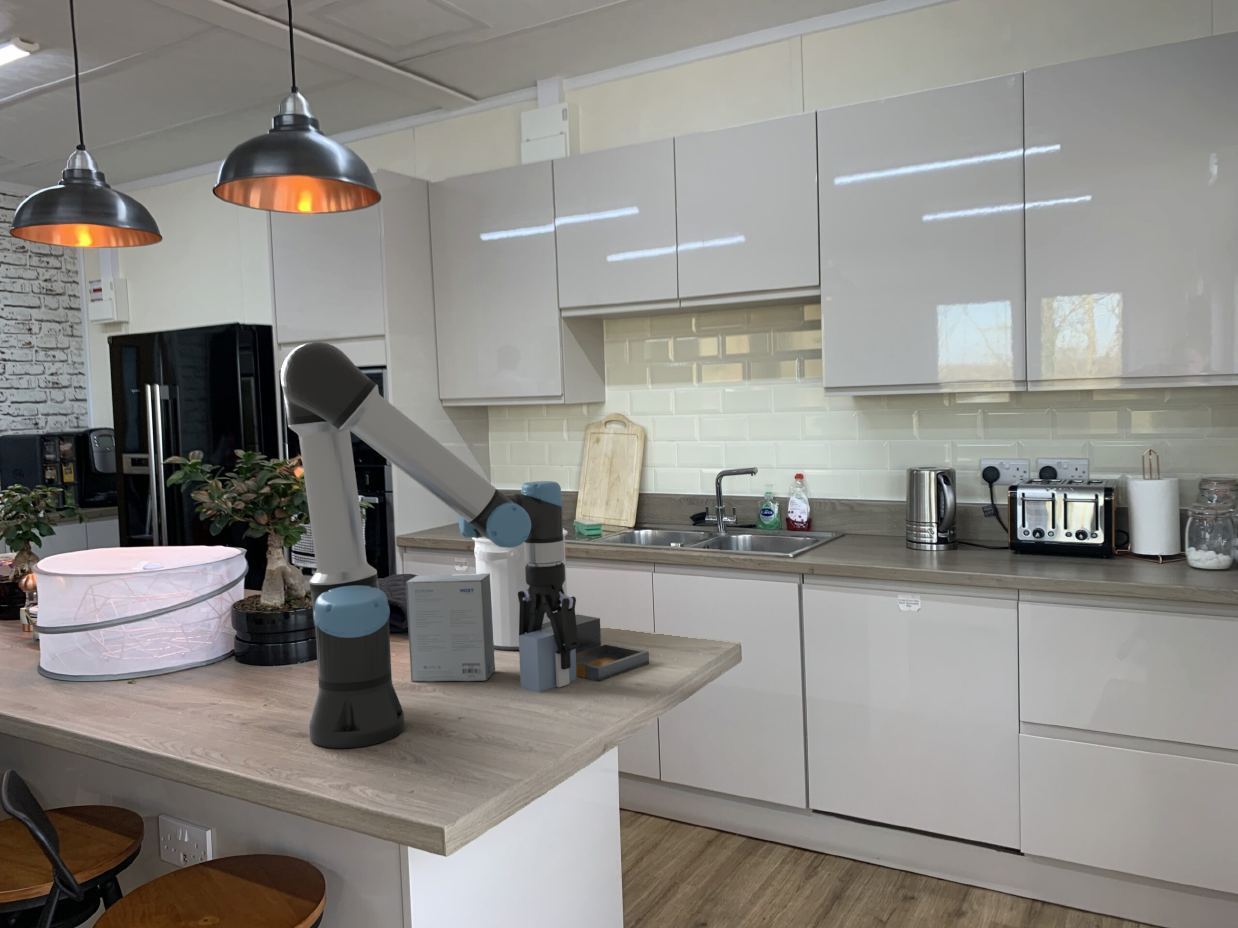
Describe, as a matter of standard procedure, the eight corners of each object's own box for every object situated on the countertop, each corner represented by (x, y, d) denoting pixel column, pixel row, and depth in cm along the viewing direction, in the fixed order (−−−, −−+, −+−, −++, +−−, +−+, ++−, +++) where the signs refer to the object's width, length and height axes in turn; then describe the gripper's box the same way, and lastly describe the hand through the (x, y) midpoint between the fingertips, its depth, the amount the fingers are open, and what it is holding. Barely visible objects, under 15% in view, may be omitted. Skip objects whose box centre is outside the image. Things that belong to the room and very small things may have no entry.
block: (538, 692, 173) (536, 639, 173) (520, 687, 177) (518, 635, 176) (576, 679, 181) (574, 628, 180) (558, 675, 184) (556, 625, 184)
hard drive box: (496, 670, 189) (492, 572, 187) (487, 682, 181) (483, 580, 180) (421, 670, 190) (416, 573, 189) (409, 682, 182) (404, 581, 181)
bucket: (525, 659, 196) (521, 543, 195) (449, 647, 208) (445, 538, 207) (594, 632, 218) (591, 528, 216) (522, 623, 230) (518, 524, 228)
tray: (598, 681, 179) (596, 640, 178) (527, 664, 192) (525, 626, 192) (649, 663, 190) (647, 624, 190) (578, 648, 203) (577, 612, 203)
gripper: (595, 564, 174) (600, 685, 175) (524, 555, 187) (529, 668, 188) (567, 570, 168) (572, 696, 170) (496, 561, 181) (501, 678, 183)
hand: (549, 681), depth 179 cm, fingers open, 6 cm apart
